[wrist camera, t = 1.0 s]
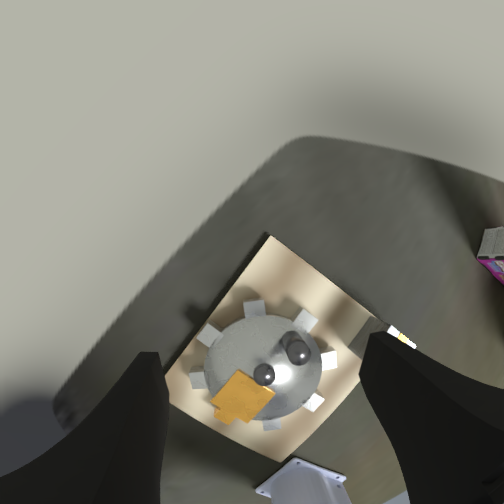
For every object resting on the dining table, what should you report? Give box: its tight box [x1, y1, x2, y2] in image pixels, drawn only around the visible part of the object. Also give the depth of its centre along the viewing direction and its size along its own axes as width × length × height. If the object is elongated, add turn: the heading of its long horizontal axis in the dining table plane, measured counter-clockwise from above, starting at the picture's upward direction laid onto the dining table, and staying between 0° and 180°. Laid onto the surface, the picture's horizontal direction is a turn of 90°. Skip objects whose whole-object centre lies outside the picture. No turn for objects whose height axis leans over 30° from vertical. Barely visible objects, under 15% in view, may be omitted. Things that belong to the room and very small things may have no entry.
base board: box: [165, 236, 376, 463], centre depth 27 cm, size 17×20×1 cm
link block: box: [347, 315, 416, 360], centre depth 24 cm, size 4×4×5 cm
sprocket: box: [189, 297, 337, 431], centre depth 23 cm, size 14×14×6 cm
